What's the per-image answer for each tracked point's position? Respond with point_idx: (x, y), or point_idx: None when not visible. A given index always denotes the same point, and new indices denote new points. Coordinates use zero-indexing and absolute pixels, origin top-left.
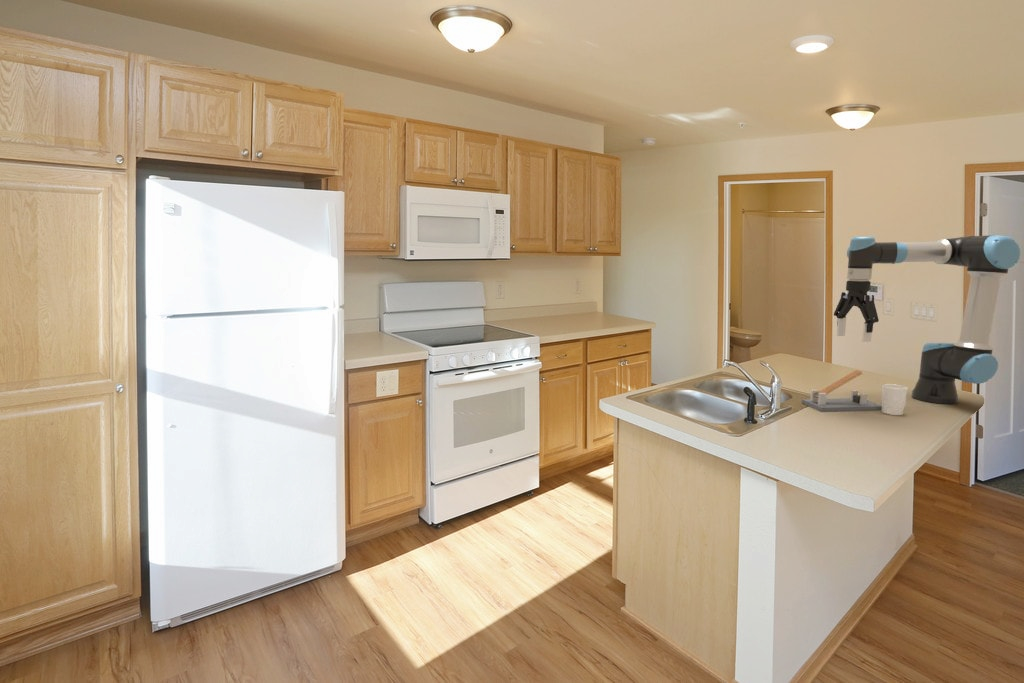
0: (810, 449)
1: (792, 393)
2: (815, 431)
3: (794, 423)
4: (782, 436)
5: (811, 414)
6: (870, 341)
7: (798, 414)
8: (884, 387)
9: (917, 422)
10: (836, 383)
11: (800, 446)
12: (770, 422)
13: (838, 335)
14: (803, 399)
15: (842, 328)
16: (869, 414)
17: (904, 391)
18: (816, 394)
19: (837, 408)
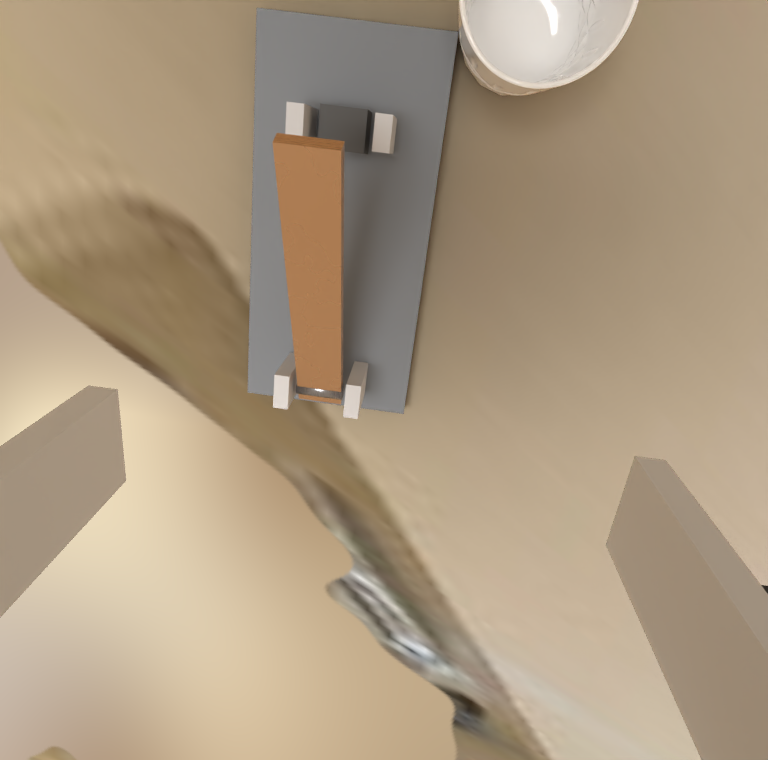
0: None
1: (66, 296)
2: (624, 607)
3: (520, 608)
4: (626, 720)
5: (433, 473)
6: (664, 463)
7: (420, 521)
8: (520, 86)
9: (710, 55)
10: (310, 306)
11: None
12: (485, 666)
13: (123, 478)
14: (253, 389)
15: (55, 493)
16: (503, 205)
17: None
18: (313, 396)
19: (414, 331)
